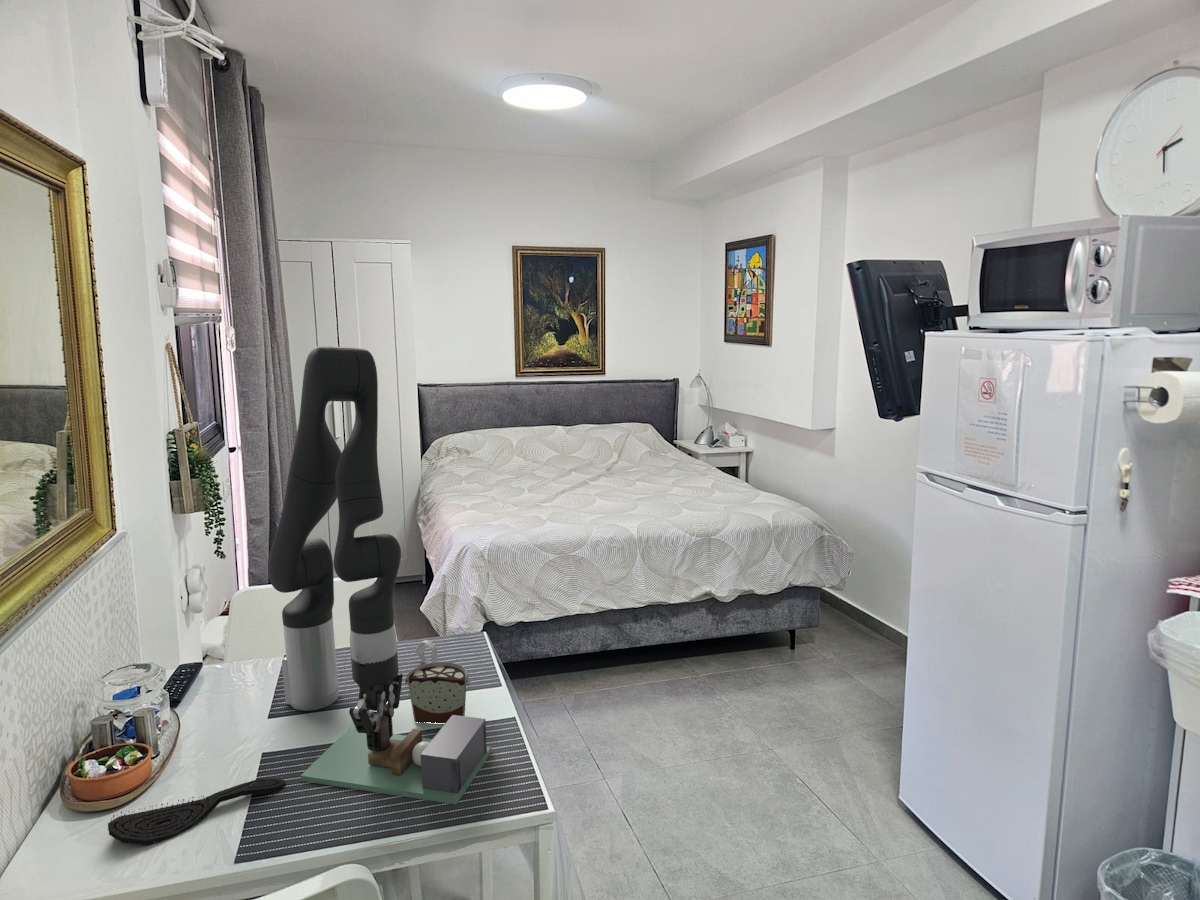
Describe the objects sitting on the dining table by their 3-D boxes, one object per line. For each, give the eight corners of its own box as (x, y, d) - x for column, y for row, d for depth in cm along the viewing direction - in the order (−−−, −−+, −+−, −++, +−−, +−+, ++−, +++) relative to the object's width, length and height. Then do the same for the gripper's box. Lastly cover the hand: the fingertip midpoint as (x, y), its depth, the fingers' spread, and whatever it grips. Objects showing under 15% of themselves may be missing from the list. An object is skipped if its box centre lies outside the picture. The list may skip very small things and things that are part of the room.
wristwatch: (425, 657, 176) (423, 636, 175) (440, 663, 173) (439, 642, 172) (415, 662, 173) (413, 641, 172) (430, 668, 170) (429, 647, 169)
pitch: (301, 780, 131) (300, 775, 131) (349, 733, 145) (349, 728, 145) (456, 804, 124) (456, 798, 124) (491, 751, 139) (491, 746, 138)
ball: (403, 758, 132) (417, 745, 131) (414, 745, 136) (428, 732, 134) (419, 775, 132) (434, 762, 130) (430, 762, 136) (444, 749, 134)
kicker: (360, 768, 132) (357, 731, 130) (384, 743, 139) (381, 706, 138) (400, 774, 130) (398, 736, 129) (422, 748, 138) (420, 711, 136)
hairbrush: (290, 782, 127) (109, 836, 112) (291, 803, 127) (111, 859, 113) (278, 758, 133) (105, 806, 119) (279, 778, 134) (107, 828, 120)
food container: (478, 709, 153) (476, 661, 151) (470, 725, 147) (468, 676, 145) (417, 706, 154) (415, 659, 153) (407, 723, 148) (404, 674, 147)
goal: (422, 788, 127) (420, 754, 126) (454, 746, 139) (452, 714, 138) (458, 793, 125) (456, 759, 124) (486, 750, 137) (485, 718, 136)
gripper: (376, 630, 139) (382, 718, 142) (330, 667, 126) (337, 763, 129) (414, 635, 137) (419, 724, 141) (371, 672, 124) (378, 770, 127)
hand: (380, 742), depth 135 cm, fingers closed on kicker, 3 cm apart
